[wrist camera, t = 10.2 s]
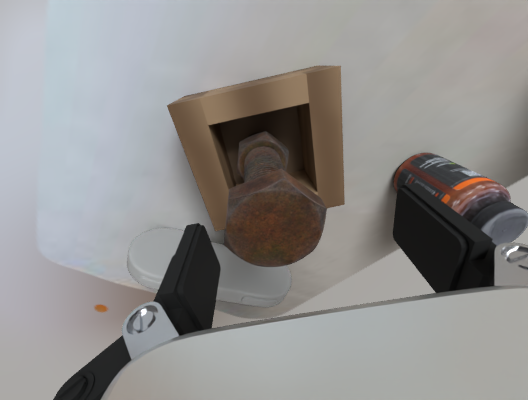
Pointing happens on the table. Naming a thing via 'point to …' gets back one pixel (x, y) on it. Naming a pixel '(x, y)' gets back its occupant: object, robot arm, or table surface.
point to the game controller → (231, 275)
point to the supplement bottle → (466, 195)
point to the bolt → (271, 207)
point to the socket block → (272, 121)
